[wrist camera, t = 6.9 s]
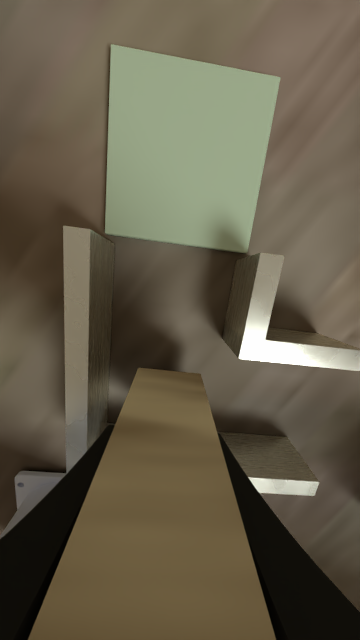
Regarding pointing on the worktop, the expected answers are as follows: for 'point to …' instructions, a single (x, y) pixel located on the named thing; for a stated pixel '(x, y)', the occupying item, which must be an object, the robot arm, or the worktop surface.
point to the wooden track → (239, 334)
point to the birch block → (158, 532)
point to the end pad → (185, 149)
